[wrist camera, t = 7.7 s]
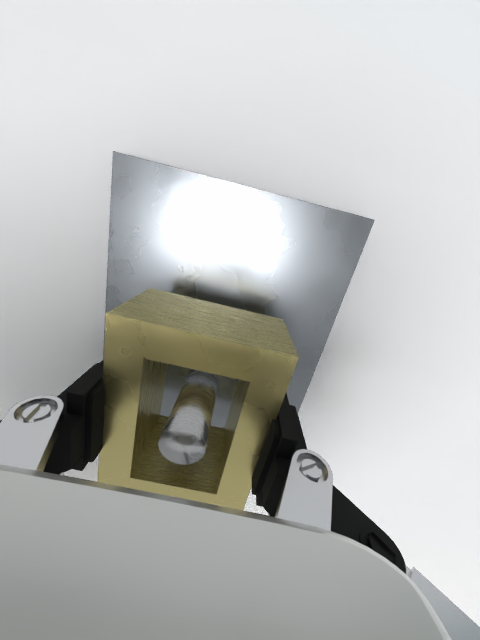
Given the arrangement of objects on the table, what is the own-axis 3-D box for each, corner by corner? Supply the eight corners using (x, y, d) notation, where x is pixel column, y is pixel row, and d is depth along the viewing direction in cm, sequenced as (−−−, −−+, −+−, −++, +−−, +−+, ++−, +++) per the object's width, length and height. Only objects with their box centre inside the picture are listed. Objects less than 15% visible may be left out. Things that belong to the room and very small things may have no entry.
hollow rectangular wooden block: (241, 449, 14) (239, 520, 10) (134, 428, 13) (97, 492, 10) (283, 319, 11) (299, 357, 8) (150, 288, 10) (105, 313, 7)
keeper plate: (267, 474, 18) (277, 612, 11) (106, 441, 17) (21, 566, 11) (364, 220, 12) (505, 206, 5) (124, 157, 11) (-45, 55, 5)
